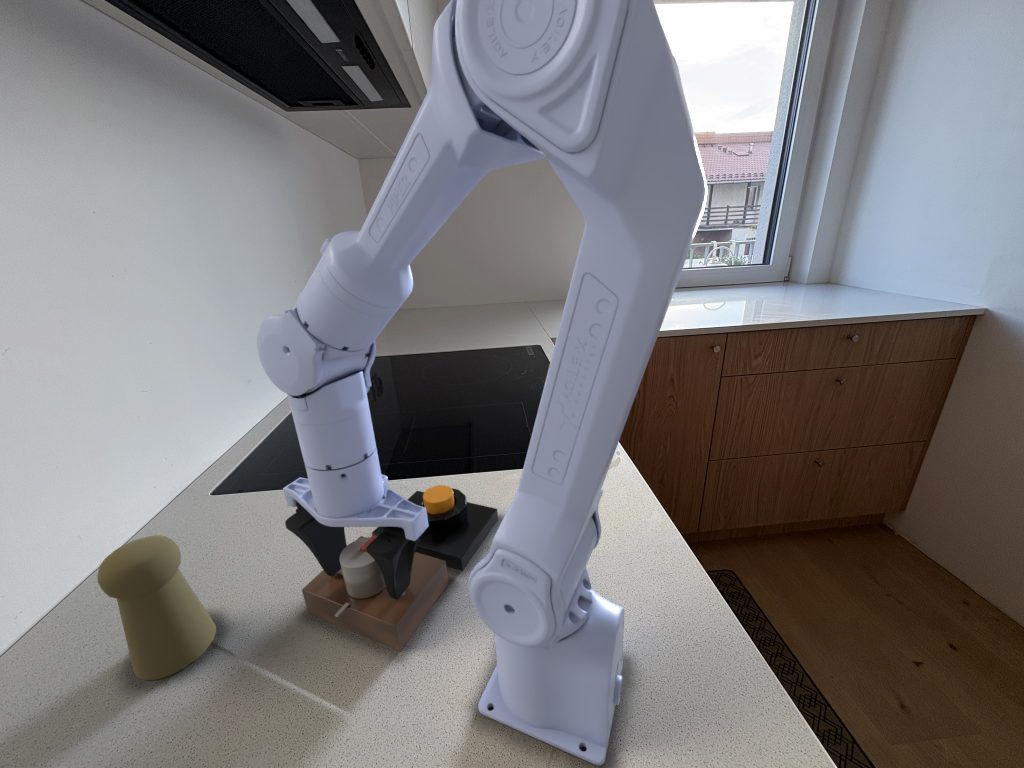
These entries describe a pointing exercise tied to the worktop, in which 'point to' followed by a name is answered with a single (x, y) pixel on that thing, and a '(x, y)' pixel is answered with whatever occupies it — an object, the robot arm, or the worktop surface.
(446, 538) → the lamp switch
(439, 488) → the power button
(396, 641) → the dimmer panel
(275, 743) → the worktop surface
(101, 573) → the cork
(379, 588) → the dimmer knob
